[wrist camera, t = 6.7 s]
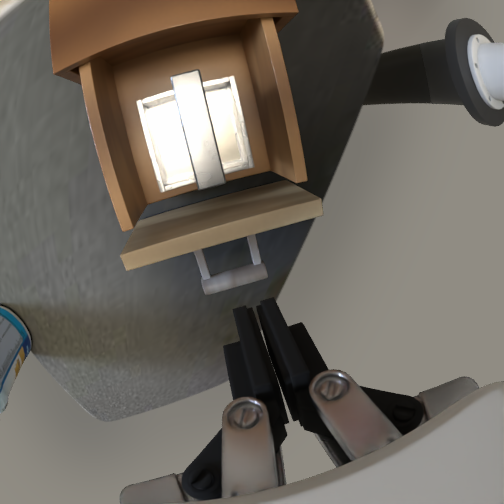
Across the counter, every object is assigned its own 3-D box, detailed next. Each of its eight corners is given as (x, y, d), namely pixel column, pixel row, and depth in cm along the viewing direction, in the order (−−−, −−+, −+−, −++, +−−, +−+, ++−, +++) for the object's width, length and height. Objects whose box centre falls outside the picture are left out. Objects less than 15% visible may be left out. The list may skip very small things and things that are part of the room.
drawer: (296, 241, 27) (329, 277, 20) (161, 279, 25) (154, 328, 19) (252, 28, 18) (277, -7, 11) (98, 68, 16) (64, 46, 10)
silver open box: (229, 81, 19) (264, 36, 9) (248, 163, 22) (297, 190, 12) (141, 104, 18) (97, 78, 8) (163, 186, 21) (140, 233, 11)
